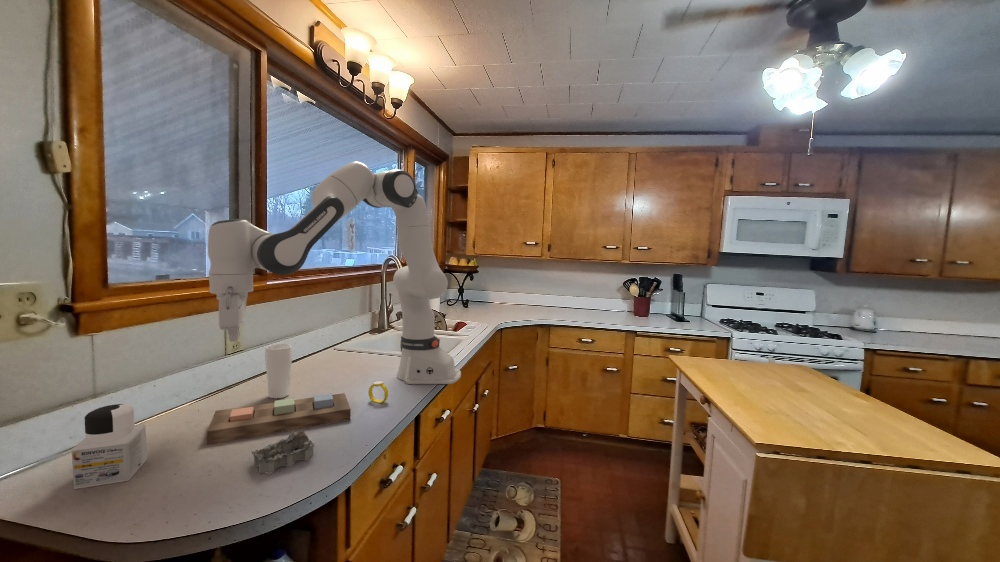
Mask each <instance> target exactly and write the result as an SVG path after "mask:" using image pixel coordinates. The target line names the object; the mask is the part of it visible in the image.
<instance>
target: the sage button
mask: <svg viewBox="0 0 1000 562" xmlns="http://www.w3.org/2000/svg"><path fill="white" fill-rule="evenodd" d="M294 400H295V398H286V399H284V398H283V399H279V400H274V403H275V404H274V415H279V414H285V413H292V412H295V410H294Z"/></svg>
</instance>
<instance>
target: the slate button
mask: <svg viewBox="0 0 1000 562" xmlns="http://www.w3.org/2000/svg"><path fill="white" fill-rule="evenodd" d="M332 395H333V394H332V393H331V392H329V393H322V394H314V395H313V397H314V409H318V408H325V407H332V406H333V396H332Z"/></svg>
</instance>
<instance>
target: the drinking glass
mask: <svg viewBox="0 0 1000 562" xmlns="http://www.w3.org/2000/svg"><path fill="white" fill-rule="evenodd" d="M292 347H293V346H292V345H291V344H290V343H275V344H269V345H267V346H266V347H265V352H264V353H265V354H264V355H265V356H264V358H265V359H264V360H265V369H266V379H267V387H268V388H267V389H268V397H269V398H270V399H273V398H274V399H277V398H278V399H284V398H285V397H288V396H289V394H290V386H291V385H290V384H291V372H292V362H293V361H292V360H293V348H292Z"/></svg>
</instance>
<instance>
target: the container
mask: <svg viewBox="0 0 1000 562" xmlns="http://www.w3.org/2000/svg"><path fill="white" fill-rule="evenodd" d="M84 432H85V433H84V437H85V438H84V439H82V440H81V441H80V442H79V443H78V444H77V445H74V446H73V447H72V448H71V461H72V462H71V463H72V465H71V466H72V481H73V485H72V486H73V489H74V490H78V489H85V488H92V487H97V486H105V485H112V484H116V483H123V482H127V481H130V479H132V477H134V475H135V474H136V473H137V472H138V471H139V469H140V468H141V467H142V466H143V465H144V464H145V462H146V461H147V459H148V458H147V457H148V456H147V436H146V435H147V433H146V432H147V431H146V424H138V425H137V424H136V425H135V408H134V406H132V405H131V404H126V403H125V404H124V403H123V404H122V403H119V404H110V405H109V404H108V405H105V406H102V407H98V408H96V409H93V410H91V411H90V412H88V413H87V414H86V415H85V416H84Z"/></svg>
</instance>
